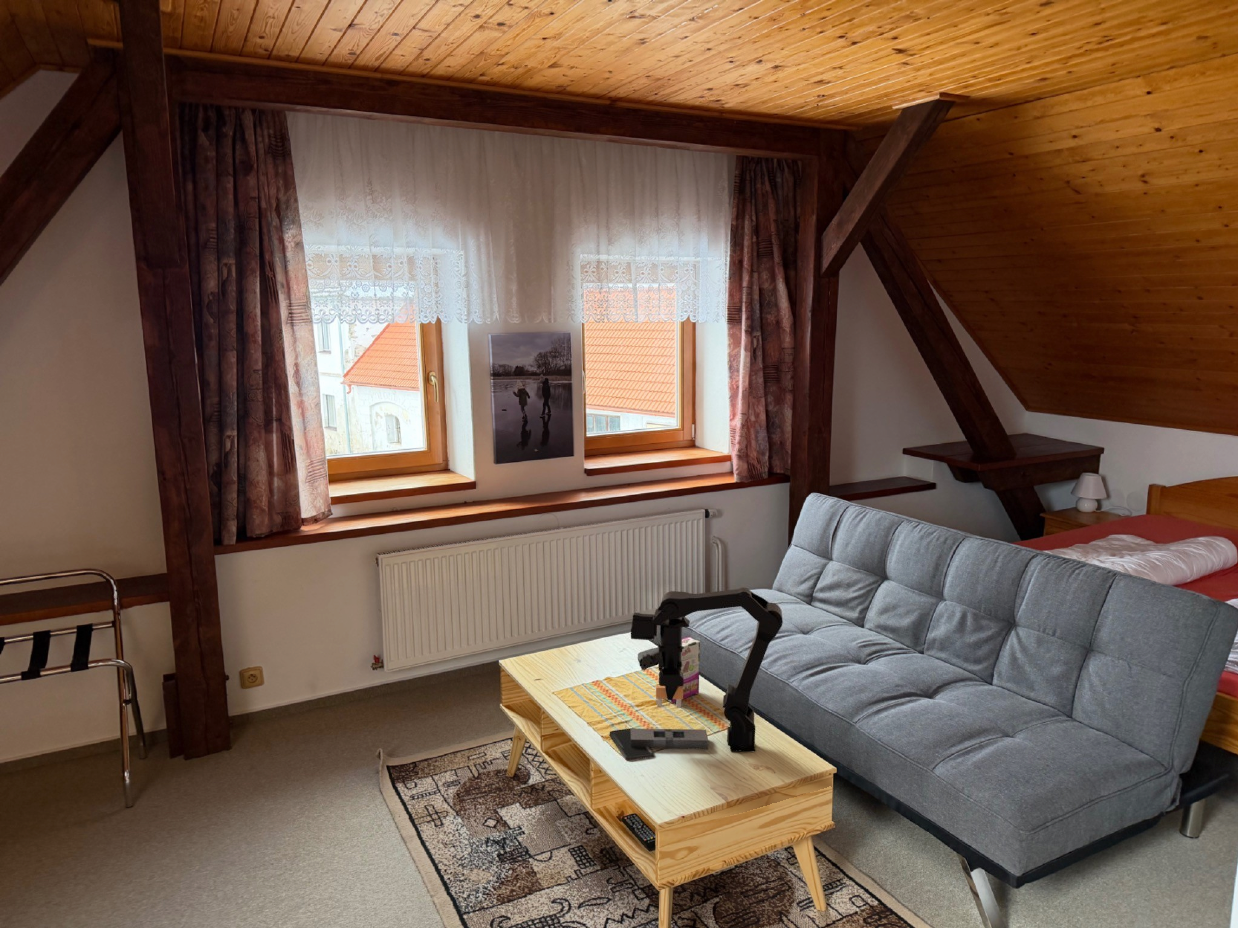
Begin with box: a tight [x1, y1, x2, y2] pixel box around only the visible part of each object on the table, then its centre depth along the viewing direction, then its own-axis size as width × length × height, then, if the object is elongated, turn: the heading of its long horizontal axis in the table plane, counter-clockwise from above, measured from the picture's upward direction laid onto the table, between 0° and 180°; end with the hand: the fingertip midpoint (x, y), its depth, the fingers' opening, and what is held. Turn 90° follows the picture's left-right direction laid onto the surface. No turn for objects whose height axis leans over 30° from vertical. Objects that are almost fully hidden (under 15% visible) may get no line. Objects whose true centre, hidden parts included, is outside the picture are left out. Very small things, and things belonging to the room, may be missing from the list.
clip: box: [655, 683, 684, 709], centre depth 234 cm, size 7×2×6 cm, turn 88°
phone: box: [609, 727, 655, 761], centre depth 233 cm, size 8×1×15 cm
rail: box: [630, 728, 709, 750], centre depth 234 cm, size 20×6×2 cm, turn 90°
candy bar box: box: [664, 636, 701, 704], centre depth 262 cm, size 11×5×16 cm, turn 129°
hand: (669, 697), depth 234 cm, fingers closed on clip, 2 cm apart
